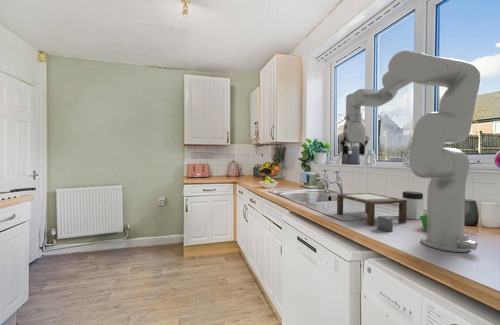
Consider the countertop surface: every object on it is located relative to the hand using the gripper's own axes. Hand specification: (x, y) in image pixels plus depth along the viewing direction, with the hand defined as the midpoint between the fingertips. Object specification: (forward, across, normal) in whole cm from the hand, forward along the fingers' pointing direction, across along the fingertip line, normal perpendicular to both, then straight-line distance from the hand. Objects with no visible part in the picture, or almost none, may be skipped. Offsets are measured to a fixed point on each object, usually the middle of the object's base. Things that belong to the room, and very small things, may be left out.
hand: (353, 154), depth 121 cm
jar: (+30, +24, -11) cm, 41 cm away
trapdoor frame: (+30, +3, -7) cm, 31 cm away
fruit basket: (+30, +16, -29) cm, 45 cm away
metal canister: (+30, -5, -24) cm, 39 cm away
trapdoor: (+22, +3, -7) cm, 23 cm away
